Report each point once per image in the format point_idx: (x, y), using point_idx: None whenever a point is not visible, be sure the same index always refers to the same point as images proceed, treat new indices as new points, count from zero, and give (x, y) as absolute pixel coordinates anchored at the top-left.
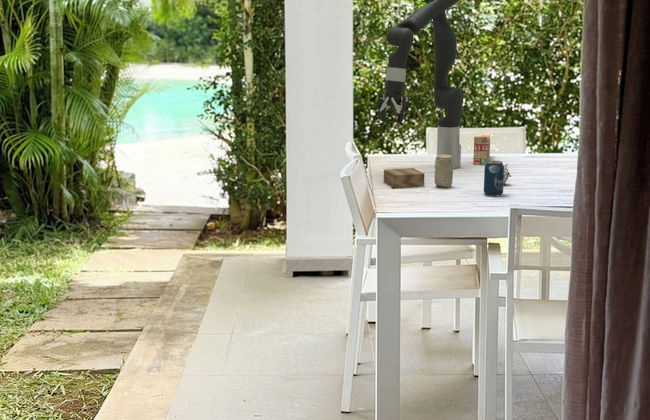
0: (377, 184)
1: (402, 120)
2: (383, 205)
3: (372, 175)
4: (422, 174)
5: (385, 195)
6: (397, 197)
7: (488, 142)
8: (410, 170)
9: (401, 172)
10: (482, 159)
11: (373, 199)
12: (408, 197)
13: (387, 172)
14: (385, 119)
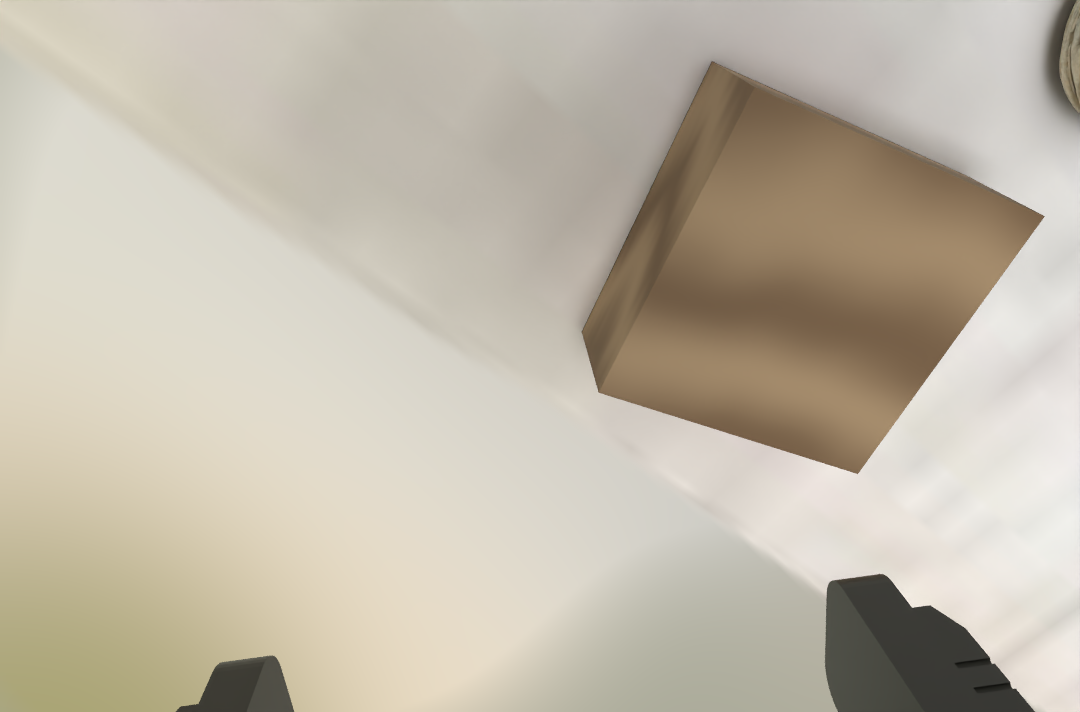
0: (612, 415)
1: (966, 639)
2: (1046, 687)
3: (248, 215)
4: (1025, 232)
5: (906, 564)
6: (1003, 543)
7: None
8: (828, 217)
9: (825, 353)
10: None
11: None
12: (1064, 496)
13: (695, 418)
14: (256, 680)
